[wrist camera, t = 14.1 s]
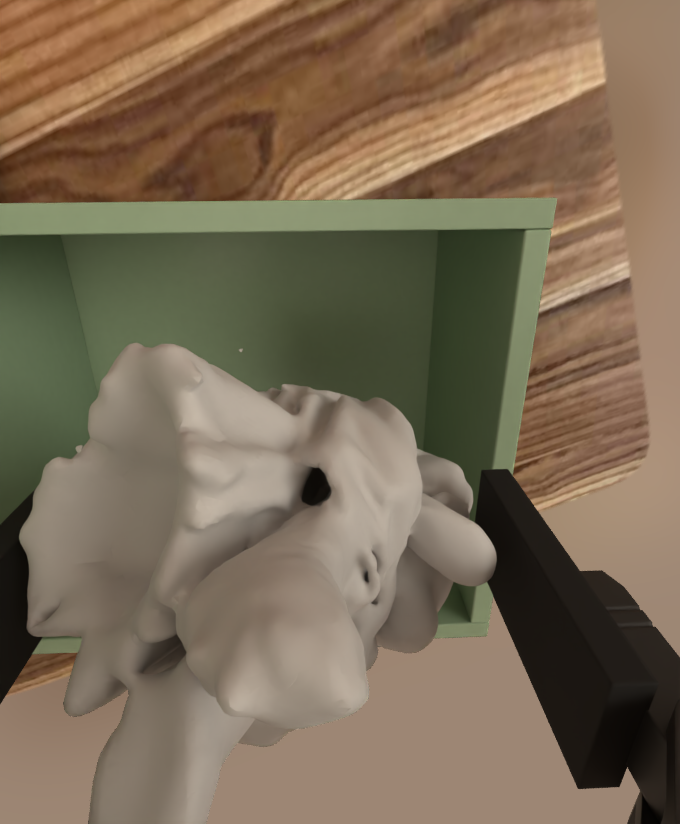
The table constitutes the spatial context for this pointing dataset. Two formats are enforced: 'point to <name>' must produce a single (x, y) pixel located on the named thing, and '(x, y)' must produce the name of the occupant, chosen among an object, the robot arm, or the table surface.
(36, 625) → the figurine
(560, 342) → the table surface
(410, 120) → the table surface
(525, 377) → the chest
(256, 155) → the table surface
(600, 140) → the table surface
